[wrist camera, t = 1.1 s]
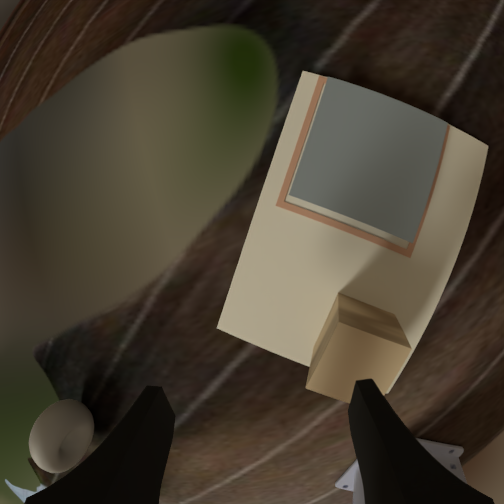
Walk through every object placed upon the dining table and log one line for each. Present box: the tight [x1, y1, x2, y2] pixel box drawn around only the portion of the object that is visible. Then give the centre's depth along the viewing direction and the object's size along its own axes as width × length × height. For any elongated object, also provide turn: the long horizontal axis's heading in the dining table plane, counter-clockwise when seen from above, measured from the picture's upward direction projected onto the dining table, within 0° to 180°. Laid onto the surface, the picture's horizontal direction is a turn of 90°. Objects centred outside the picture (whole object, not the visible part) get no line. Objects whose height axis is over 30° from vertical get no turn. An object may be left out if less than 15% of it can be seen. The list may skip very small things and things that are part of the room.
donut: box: [29, 399, 94, 473], centre depth 23 cm, size 10×4×10 cm, turn 162°
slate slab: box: [289, 77, 448, 243], centre depth 15 cm, size 7×7×2 cm
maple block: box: [306, 293, 412, 403], centre depth 16 cm, size 4×4×5 cm
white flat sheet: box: [217, 71, 488, 393], centre depth 18 cm, size 13×18×1 cm
